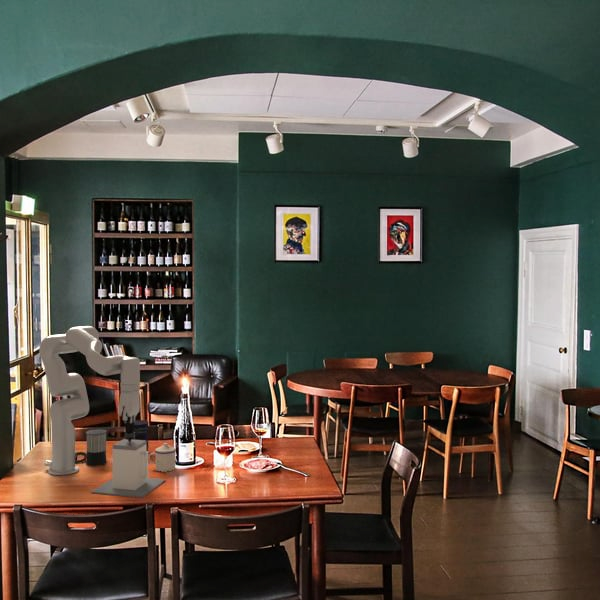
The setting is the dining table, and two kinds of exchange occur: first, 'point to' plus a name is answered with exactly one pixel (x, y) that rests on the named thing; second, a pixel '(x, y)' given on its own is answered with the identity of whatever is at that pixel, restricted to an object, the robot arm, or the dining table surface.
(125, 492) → the slate mat
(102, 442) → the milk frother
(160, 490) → the dining table surface
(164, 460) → the teacup with lid
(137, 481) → the box
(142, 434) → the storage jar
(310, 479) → the dining table surface
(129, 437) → the plunger
